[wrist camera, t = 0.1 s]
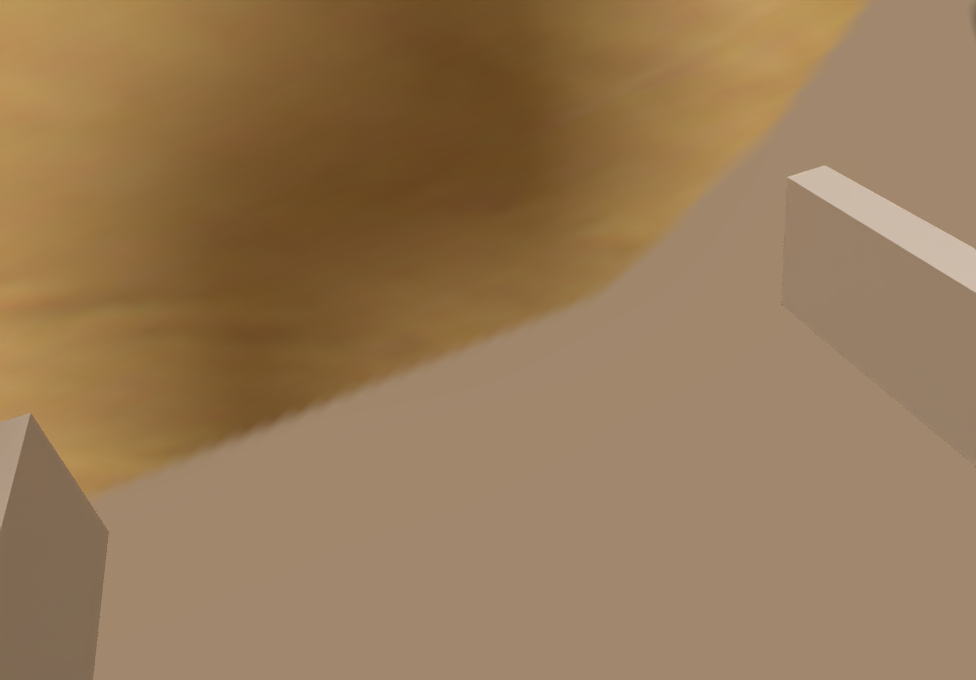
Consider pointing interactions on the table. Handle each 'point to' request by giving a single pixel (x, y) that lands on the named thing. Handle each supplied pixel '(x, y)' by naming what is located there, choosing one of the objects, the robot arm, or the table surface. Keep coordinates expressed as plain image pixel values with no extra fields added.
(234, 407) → the table surface
